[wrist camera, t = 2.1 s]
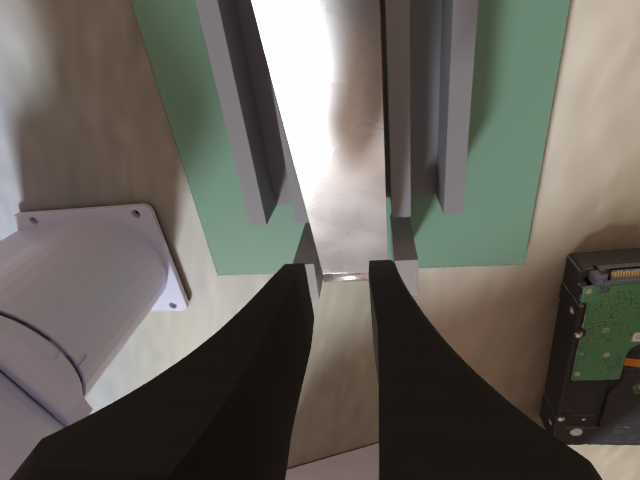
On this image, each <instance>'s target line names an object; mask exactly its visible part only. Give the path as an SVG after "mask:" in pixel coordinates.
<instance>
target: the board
mask: <svg viewBox="0 0 640 480" xmlns="http://www.w3.org/2000/svg"><path fill="white" fill-rule="evenodd" d="M130 1H131V4H132V7H133V10H134V13H135V16H136V20H137V23H138V26H139V29H140V32H141V35H142V39H143V42H144V45H145V48H146V51H147V54H148V57H149V61H150V64H151V67H152V70H153V73H154V76H155V80H156V83H157V86H158V89H159V92H160V95H161V99H162V102H163V105H164V108H165V111H166V114H167V117H168V121H169V124H170V127H171V130H172V133H173V136H174V140H175V143H176V146H177V149H178V152H179V155H180V158H181V162H182V165H183V168H184V171H185V174H186V177H187V181H188V184H189V187H190V190H191V193H192V196H193V200H194V203H195V206H196V209H197V212H198V215H199V218H200V222H201V225H202V228H203V231H204V234H205V237H206V241H207V244H208V247H209V250H210V253H211V256H212V259H213V263H214V266H215V269H216V272H217V275H218V276H219V275H247V274H274V273H277V271H278V270H279V269H280V268H281V267H282V266H283V265H284V264H297V263H305V267H306V273H307V279H308V285H309V290H310V296H311V299H319V297H320V291H321V286H322V280H323V272H322V268H321V265H320V261H319V257H318V253H317V249H316V245H315V242H314V238H313V234H312V230H311V226H310V222H309V219H308V215H307V211H306V207H305V203H304V199H303V196H302V192H301V188H300V184H299V180H298V177H297V173H296V169H295V165H294V161H293V157H292V154H291V150H290V146H289V142H288V138H287V134H286V131H285V127H284V123H283V119H282V115H281V112H280V108H279V104H278V100H277V96H276V92H275V89H274V85H273V81H272V77H271V73H270V69H269V66H268V62H267V58H266V54H265V50H264V46H263V43H262V39H261V35H260V31H259V27H258V24H257V20H256V16H255V12H254V8H253V4H252V1H251V0H130ZM569 6H570V0H380V20H381V54H382V87H383V121H384V154H385V188H386V221H387V255H388V260H392V261H393V262H395V264H396V267H397V270H398V272H399V274H400V276H401V278H402V280H403V282H404V284H405V286H406V287H407V289H408V291H409V292H410V294H411V296H418V268H438V267H465V266H492V265H520V264H524V262H525V257H526V251H527V245H528V240H529V234H530V228H531V223H532V217H533V211H534V205H535V200H536V194H537V188H538V183H539V177H540V171H541V166H542V160H543V154H544V148H545V143H546V137H547V131H548V126H549V120H550V114H551V109H552V103H553V97H554V92H555V86H556V80H557V74H558V69H559V63H560V57H561V52H562V46H563V40H564V35H565V29H566V23H567V18H568V12H569Z"/></svg>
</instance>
